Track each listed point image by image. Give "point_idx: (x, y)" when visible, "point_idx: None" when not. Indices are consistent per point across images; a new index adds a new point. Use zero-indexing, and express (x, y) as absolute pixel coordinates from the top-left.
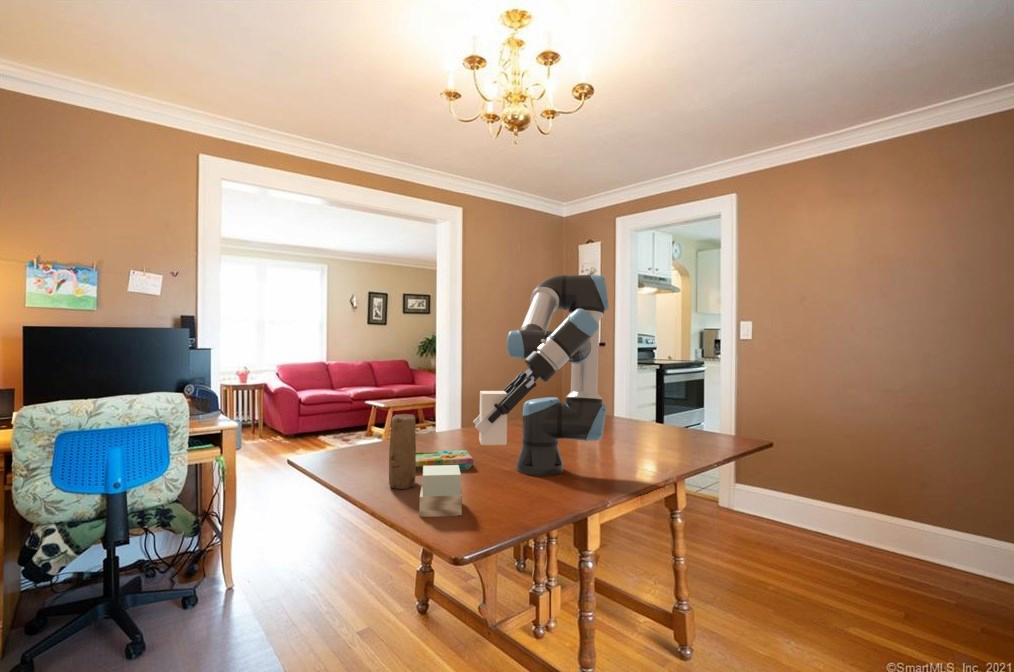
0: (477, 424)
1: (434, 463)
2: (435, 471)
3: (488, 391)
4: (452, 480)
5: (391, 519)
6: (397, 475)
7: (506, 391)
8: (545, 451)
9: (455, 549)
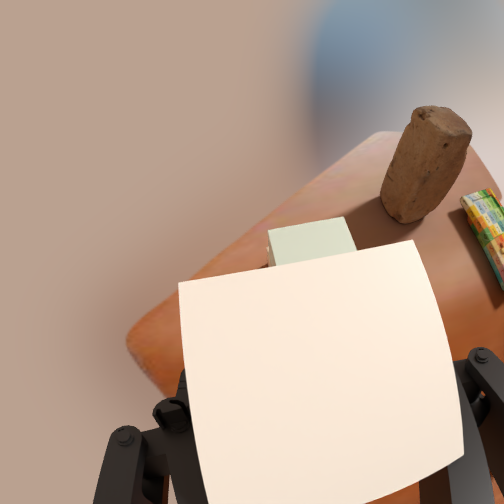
0: None
1: (480, 231)
2: (304, 248)
3: (397, 324)
4: None
5: (252, 227)
6: (386, 189)
7: (444, 480)
8: None
9: (144, 335)
